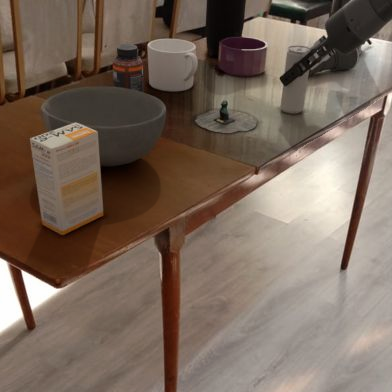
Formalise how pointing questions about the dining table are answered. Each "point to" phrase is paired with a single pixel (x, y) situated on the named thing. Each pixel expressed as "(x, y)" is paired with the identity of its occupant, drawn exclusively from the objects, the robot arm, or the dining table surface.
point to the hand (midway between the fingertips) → (286, 78)
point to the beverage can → (294, 83)
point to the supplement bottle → (128, 68)
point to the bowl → (110, 119)
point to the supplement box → (68, 177)
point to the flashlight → (337, 62)
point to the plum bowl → (242, 56)
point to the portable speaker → (223, 22)
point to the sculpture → (226, 120)
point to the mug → (171, 64)
